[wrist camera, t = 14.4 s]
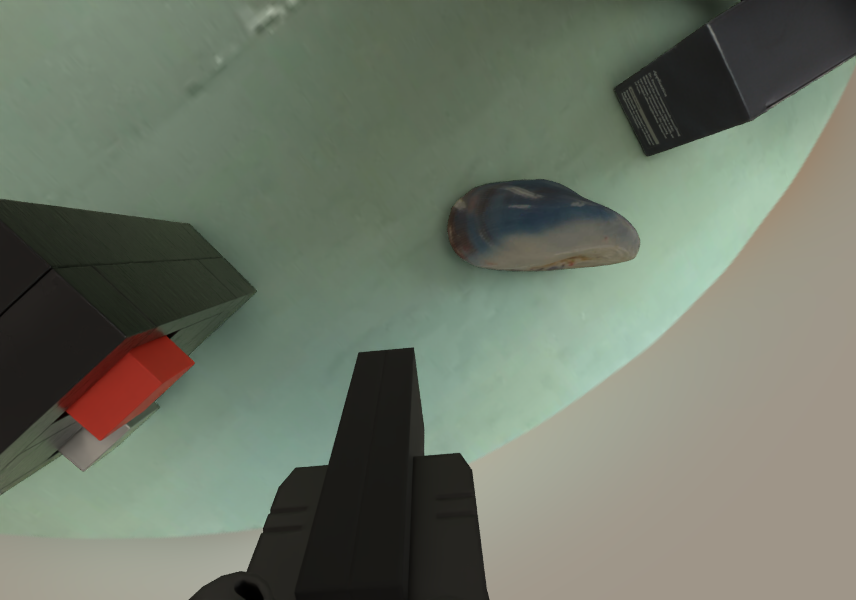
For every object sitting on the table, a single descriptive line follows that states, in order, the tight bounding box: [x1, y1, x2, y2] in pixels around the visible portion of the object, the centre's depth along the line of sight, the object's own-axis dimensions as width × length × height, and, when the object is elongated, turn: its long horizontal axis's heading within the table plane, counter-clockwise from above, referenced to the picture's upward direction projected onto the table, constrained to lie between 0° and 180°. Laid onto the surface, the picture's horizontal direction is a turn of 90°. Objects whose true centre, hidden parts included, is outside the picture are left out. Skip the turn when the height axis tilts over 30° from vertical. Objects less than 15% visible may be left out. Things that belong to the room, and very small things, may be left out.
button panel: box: [0, 199, 257, 495], centre depth 22 cm, size 6×12×16 cm, turn 132°
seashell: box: [447, 179, 640, 271], centre depth 30 cm, size 6×9×10 cm
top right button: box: [66, 335, 195, 441], centre depth 19 cm, size 3×3×3 cm
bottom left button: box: [58, 402, 160, 472], centre depth 24 cm, size 3×3×3 cm
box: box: [614, 0, 856, 156], centre depth 27 cm, size 9×6×10 cm, turn 121°
